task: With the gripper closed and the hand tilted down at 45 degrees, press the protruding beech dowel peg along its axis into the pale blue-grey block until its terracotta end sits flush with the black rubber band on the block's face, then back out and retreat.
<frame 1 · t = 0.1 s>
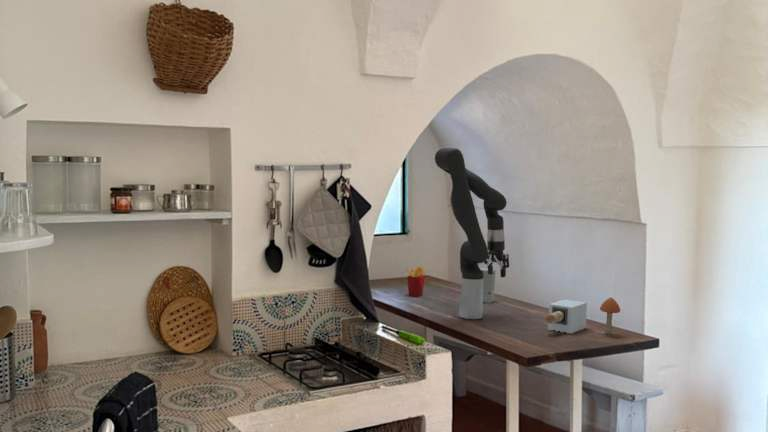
hand: (496, 275, 335), 17 cm above the table, tool pointing down, fingers open, 8 cm apart
mushroom: (608, 335, 303), on the table
block: (567, 328, 311), on the table
skincare box: (484, 301, 366), on the table
peg: (557, 316, 303), point 6 cm above the table, slide at 8.0 cm
french fries: (418, 296, 378), on the table
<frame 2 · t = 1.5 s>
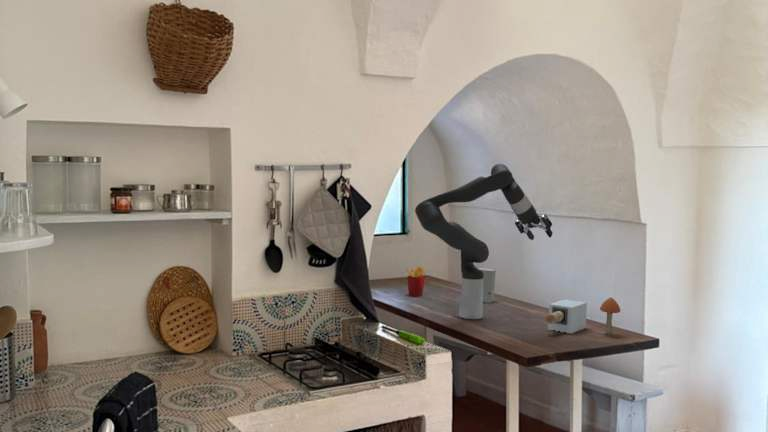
hand: (541, 237, 304), 38 cm above the table, tool tilted 40°, fingers open, 8 cm apart
nothing on the table moved.
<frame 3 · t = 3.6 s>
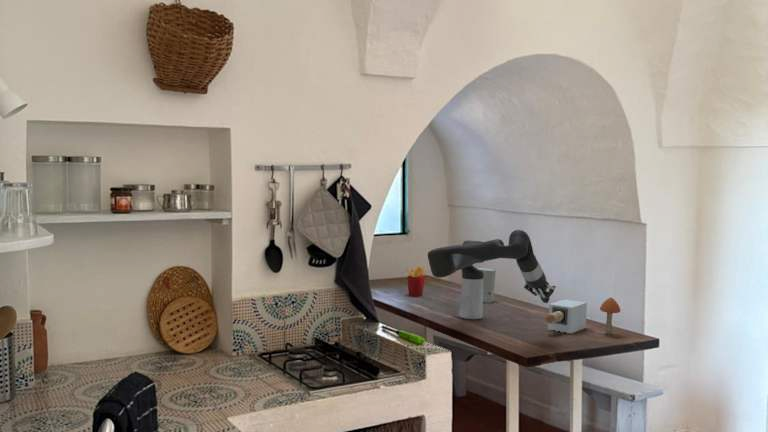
hand: (546, 301, 294), 14 cm above the table, tool tilted 45°, fingers closed
nothing on the table moved.
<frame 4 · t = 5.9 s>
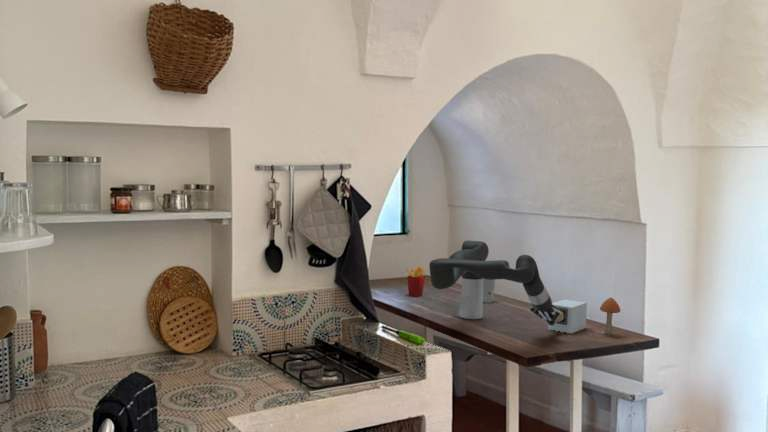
hand: (552, 323, 299), 5 cm above the table, tool tilted 45°, fingers closed
peg: (558, 316, 304), point 6 cm above the table, slide at 6.6 cm, touching gripper
everything else where it was.
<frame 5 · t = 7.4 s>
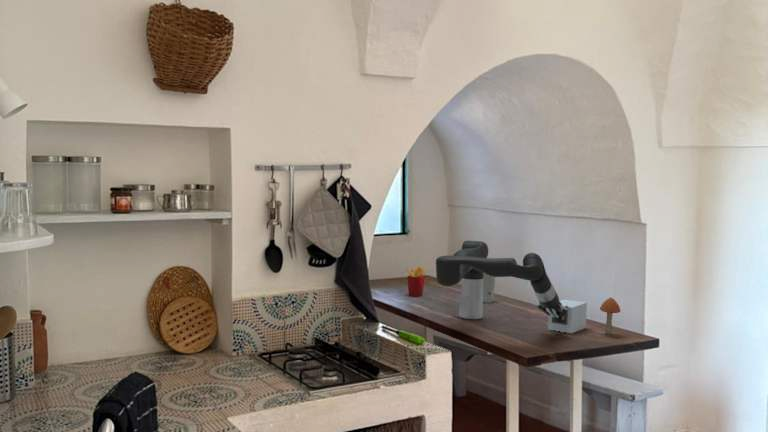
hand: (559, 320, 304), 5 cm above the table, tool tilted 45°, fingers closed
peg: (565, 313, 310), point 6 cm above the table, slide at -0.1 cm, touching gripper
everything else where it was.
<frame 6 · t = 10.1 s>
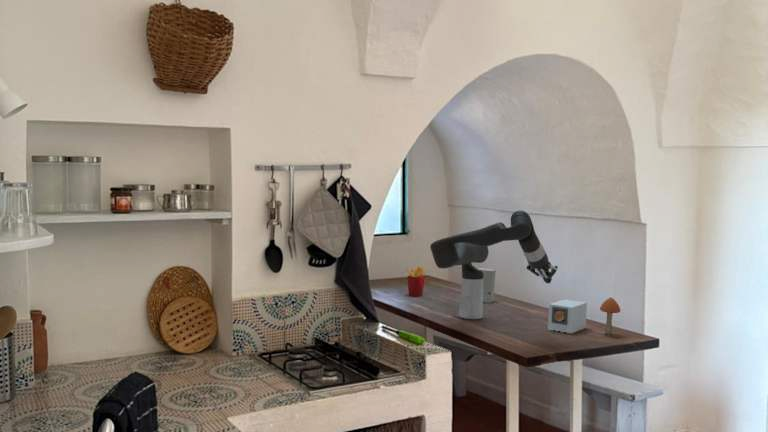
hand: (548, 281, 296), 22 cm above the table, tool tilted 45°, fingers closed
peg: (565, 313, 310), point 6 cm above the table, slide at 0.0 cm
everything else where it was.
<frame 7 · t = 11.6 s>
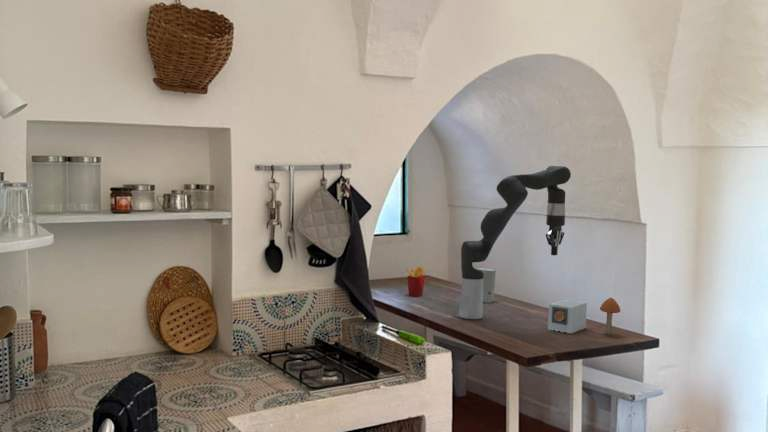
hand: (554, 255, 319), 29 cm above the table, tool pointing down, fingers closed
nothing on the table moved.
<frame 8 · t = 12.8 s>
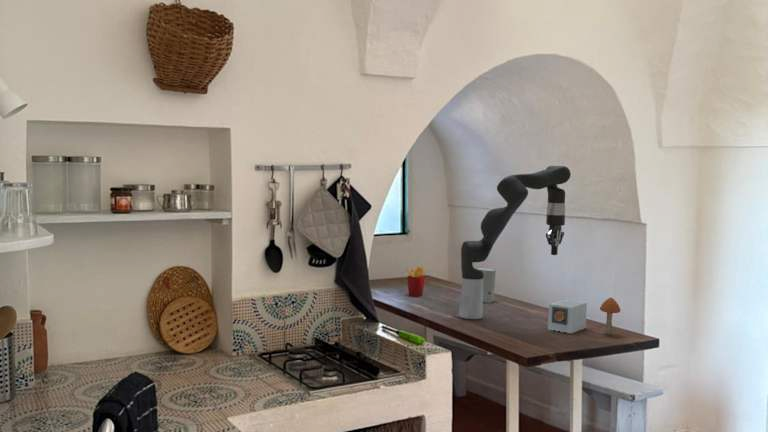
hand: (554, 254, 319), 29 cm above the table, tool pointing down, fingers closed
nothing on the table moved.
at the end: peg slide at 0.0 cm; the gripper is holding nothing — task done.
